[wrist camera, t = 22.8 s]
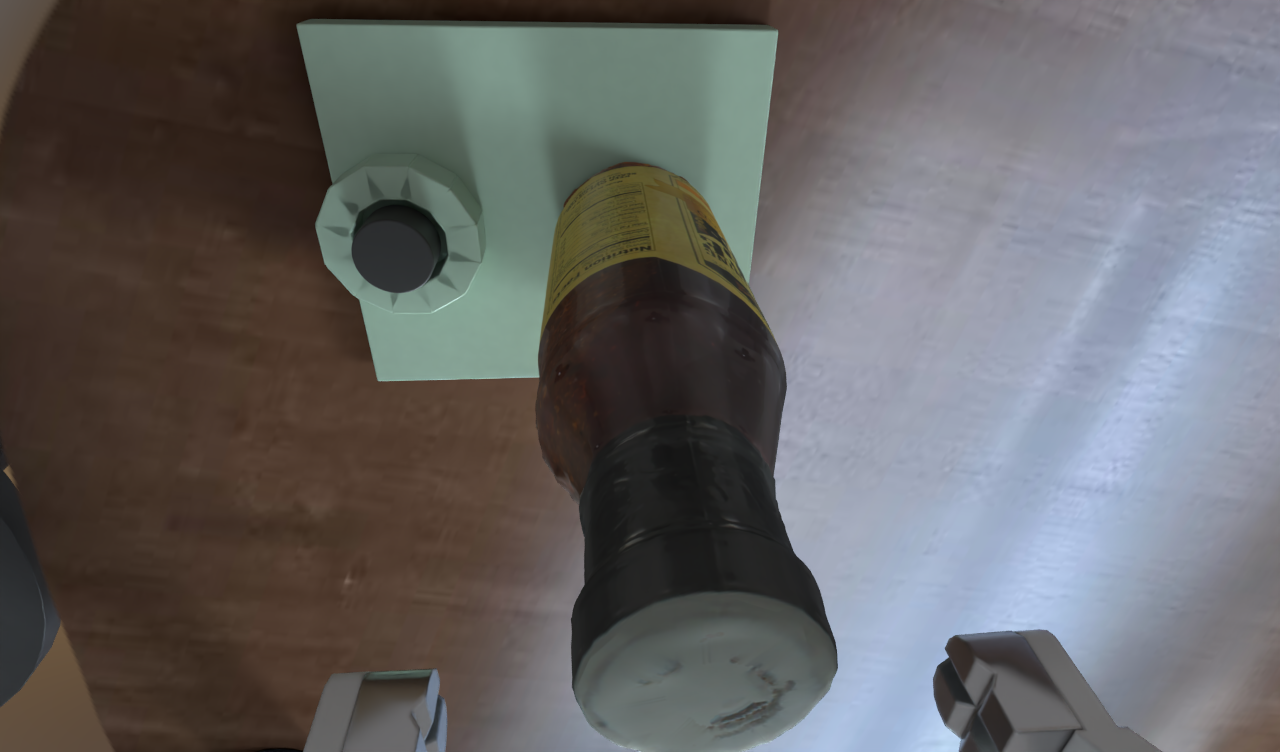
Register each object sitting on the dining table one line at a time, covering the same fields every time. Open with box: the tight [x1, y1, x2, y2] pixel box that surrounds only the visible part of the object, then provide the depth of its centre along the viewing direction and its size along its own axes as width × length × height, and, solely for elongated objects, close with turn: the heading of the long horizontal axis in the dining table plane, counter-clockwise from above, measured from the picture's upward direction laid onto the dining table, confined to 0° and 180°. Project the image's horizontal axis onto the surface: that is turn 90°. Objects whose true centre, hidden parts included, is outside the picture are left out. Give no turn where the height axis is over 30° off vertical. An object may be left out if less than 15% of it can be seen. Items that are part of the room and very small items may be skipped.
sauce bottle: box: [535, 162, 838, 752], centre depth 19 cm, size 7×6×20 cm
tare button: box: [351, 205, 441, 293], centre depth 25 cm, size 3×3×2 cm
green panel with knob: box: [297, 19, 778, 381], centre depth 27 cm, size 16×14×3 cm
